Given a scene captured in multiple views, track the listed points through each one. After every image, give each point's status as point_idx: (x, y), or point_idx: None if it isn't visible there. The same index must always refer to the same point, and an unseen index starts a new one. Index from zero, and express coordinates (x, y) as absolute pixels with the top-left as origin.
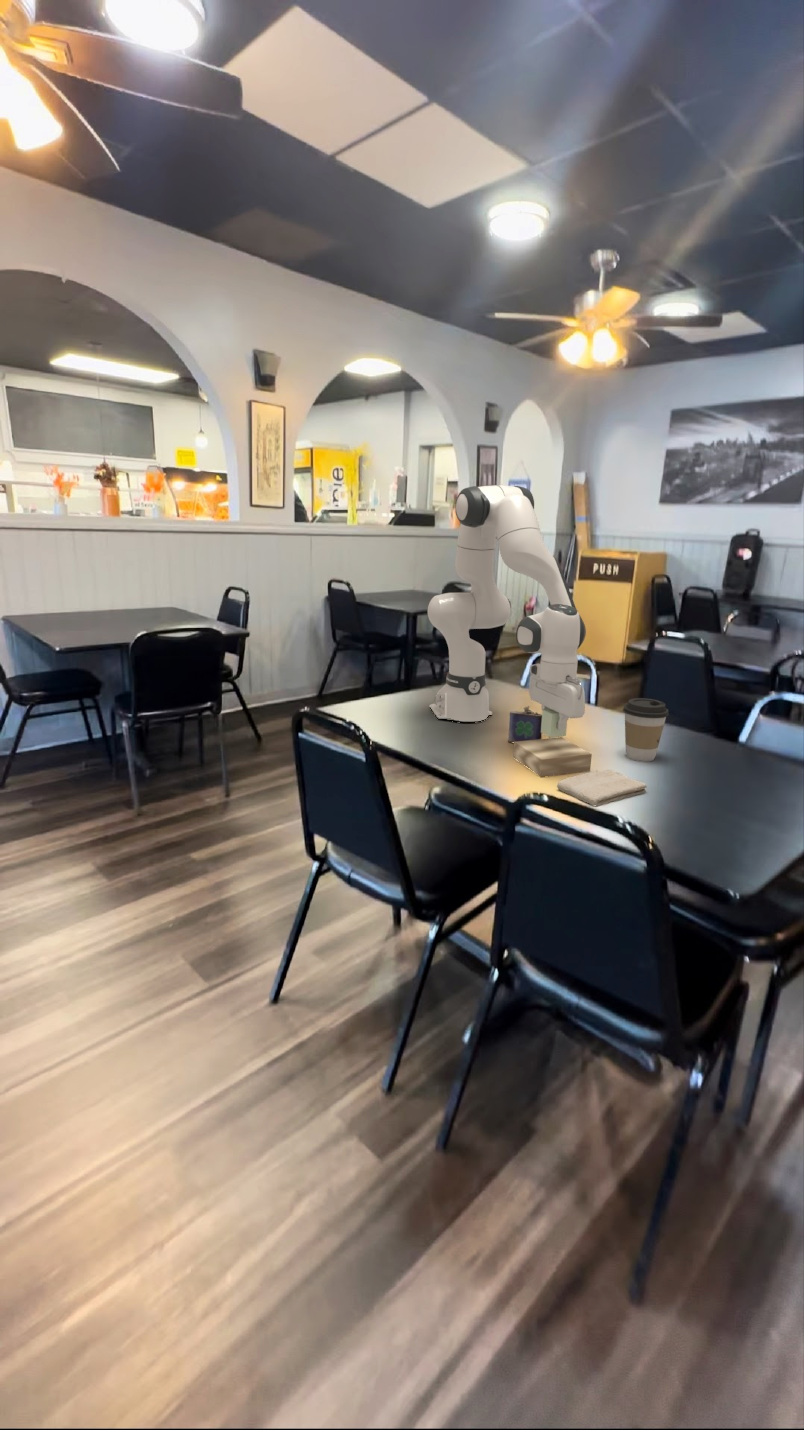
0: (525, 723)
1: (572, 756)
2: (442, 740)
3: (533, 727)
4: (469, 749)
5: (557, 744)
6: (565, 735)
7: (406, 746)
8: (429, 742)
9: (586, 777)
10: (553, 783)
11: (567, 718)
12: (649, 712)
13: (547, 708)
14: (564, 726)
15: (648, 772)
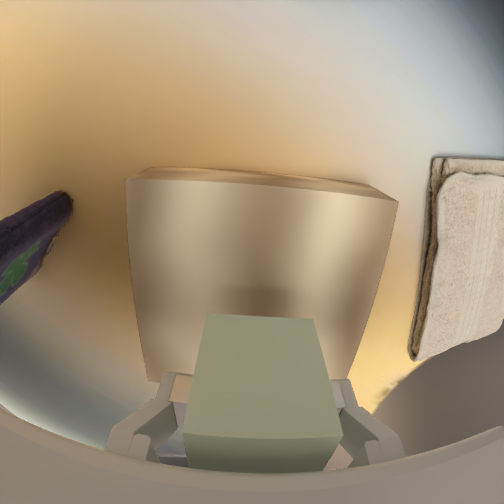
0: (4, 275)
1: (375, 292)
2: (35, 386)
3: (23, 252)
4: (84, 382)
5: (221, 264)
6: (313, 323)
7: (75, 437)
8: (50, 407)
9: (451, 296)
10: (378, 342)
11: (388, 435)
12: None
13: (156, 456)
14: (350, 393)
15: (438, 23)
